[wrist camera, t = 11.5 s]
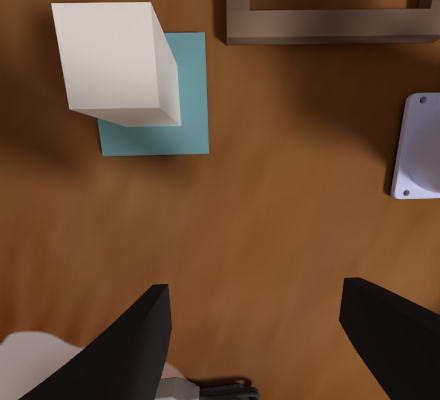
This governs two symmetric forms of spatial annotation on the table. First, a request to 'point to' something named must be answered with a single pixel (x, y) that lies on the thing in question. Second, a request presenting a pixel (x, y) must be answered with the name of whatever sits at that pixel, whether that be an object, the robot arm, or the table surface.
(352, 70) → the table surface
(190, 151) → the mat
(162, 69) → the cream block
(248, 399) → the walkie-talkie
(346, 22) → the brown square frame
